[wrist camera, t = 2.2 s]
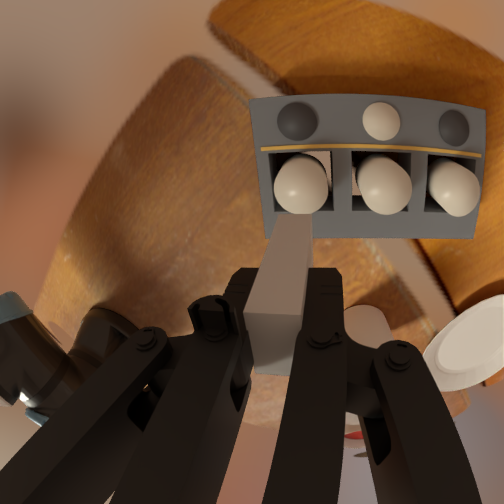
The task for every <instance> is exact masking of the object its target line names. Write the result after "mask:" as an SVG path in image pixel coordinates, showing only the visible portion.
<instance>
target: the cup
mask: <svg viewBox="0 0 504 504" xmlns="http://www.w3.org/2000/svg"><path fill="white" fill-rule="evenodd" d="M344 326H345V331H346V332H347V334H348V336H349V337H350V338H351V339H352V340H354V341H355V342H357V343H359V344H362V345H364V346H368V347H372V348H376V349H377V348H378V347H379V346H380V345H381V344H383V343H385V342H388V341H391V340H394V338H393V335H392V333H391V330H390V328H389V325H388V323H387V321H386V318H385V316H384V314H383V313H382V311H381V310H379V309H378V308H376V307H374V306H370V305H357V306H353V307H350V308H348V309H346V310H344ZM345 424H348V425H360V423H359V419H358V416H357V415H355V414H352V413H349V412H346V420H345Z"/></svg>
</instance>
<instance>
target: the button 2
mask: <svg viewBox="0 0 504 504" xmlns="http://www.w3.org/2000/svg"><path fill="white" fill-rule="evenodd" d="M355 179H356V183H357V186H358V188H359V190H360V192H361V194H362V197H363V199H364V201H365V203H366V204H367V206H368V207H369V208H370V209H371V210H373V211H374V212H376V213H379V214H383V215H390V214H394V213H397V212H399V211H400V210H402V209H403V208H404V207H405V206H406V205H407V203H408V202H409V200H410V198H411V194H412V183H411V180H410V177H409V175H408V174H407V172H406V171H405V170H404V169H403V168H402V167H400V166H399V165H398V164H397V163H396V162H394V161H393V160H392V159H391V158H389V157H388V156H386V155H383V154H371V155H368V156H366V157H365V158H363V159H362V160H361V161H360V163H359V164H358V166H357V169H356V173H355Z"/></svg>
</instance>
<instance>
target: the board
mask: <svg viewBox="0 0 504 504" xmlns="http://www.w3.org/2000/svg"><path fill="white" fill-rule="evenodd" d="M249 107H250V115H251V122H252V130H253V138H254V146H255V154H256V162H257V170H258V178H259V187H260V195H261V203H262V212H263V221H264V229H265V238H266V239H270V237H271V234H272V232H273V229H274V226H275V223H276V220H277V218H278V215H279V214H293V213H291V212H288V211H287V210H285V209H284V208H283V207H282V206H281V205H280V204H279V203H278V201H277V199H276V197H275V194H274V183H275V179H276V177H277V175H278V170H277V161H276V153H284V152H306V151H330V158H331V182H332V195H331V196H327V199H326V201H325V203H324V204H323V206H322V207H321V208H320V209H318V210H317V211H315V212H313V213H311V214H312V236H313V238H435V239H473V237H474V232H475V227H476V222H477V217H478V211H479V205H480V198H481V191H482V183H483V174H484V162H485V145H486V110H484V109H479V108H475V107H470V106H465V105H460V104H455V103H449V102H443V101H436V100H429V99H421V98H412V97H402V96H390V95H373V94H308V95H290V96H277V97H267V98H257V99H249ZM351 151H383V152H398V165H399V166H400V167H402V168H403V169H404V170H405V171H406V172H407V174H408V175H409V177H410V180H411V183H412V194H411V198H410V200H409V202H408V203H407V205H406V206H405V207H404V208H403V209H402V210H400V211H399V212H397V213H394V214H390V215H383V214H379V213H376V212H374V211H373V210H371V209H370V208H369V207H368V206H367V204H366V203H365V201H364V199H363V197H362V195H359V196H358V195H352V157H351ZM428 154H432V155H442V156H452V157H457V160H456V163H457V164H459V165H461V166H463V167H464V168H466V169H468V170H469V171H471V172H472V173H473V174H474V175H475V176H476V177H477V179H478V182H479V185H480V196H479V200H478V203H477V205H476V206H475V208H474V209H473V210H472V211H471V212H470V213H469V214H467V215H465V216H461V217H456V216H452V215H450V214H449V213H448V212H446V211H445V210H444V208H443V207H442V206H441V205H440V204H439V203H438V202H437V201H436V200H435V199H434V198H433V197H425V195H426V182H427V165H428Z"/></svg>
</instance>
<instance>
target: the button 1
mask: <svg viewBox="0 0 504 504" xmlns="http://www.w3.org/2000/svg"><path fill="white" fill-rule="evenodd" d="M274 194H275V197H276V199H277V201H278V203H279V204H280V205H281V206H282V207H283V208H284V209H285V210H287V211H288V212H291V213H293V214H311V213H313V212H315V211H317V210H318V209H320V208H321V207H322V206H323V204H324V203H325V201H326V199H327V196H328V183H327V176H326V170H325V168H324V166H323V165H322V163H321V162H320V161H319V160H318V159H317V158H315V157H313V156H311V155H308V154H297V155H294V156H292V157H290V158H289V159H287V160H286V161H285V162H284V164H283V166H282V167H281V169H280V171H279V173H278V175H277V177H276V179H275V183H274Z"/></svg>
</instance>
